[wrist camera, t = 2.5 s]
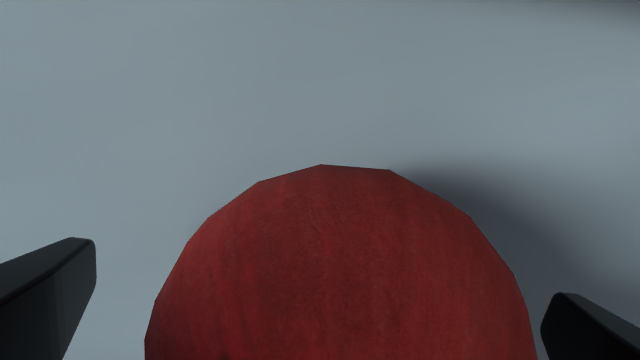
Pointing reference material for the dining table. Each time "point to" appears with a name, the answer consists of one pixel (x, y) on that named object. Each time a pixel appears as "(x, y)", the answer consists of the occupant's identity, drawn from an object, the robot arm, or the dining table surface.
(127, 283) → the dining table surface
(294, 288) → the onion
